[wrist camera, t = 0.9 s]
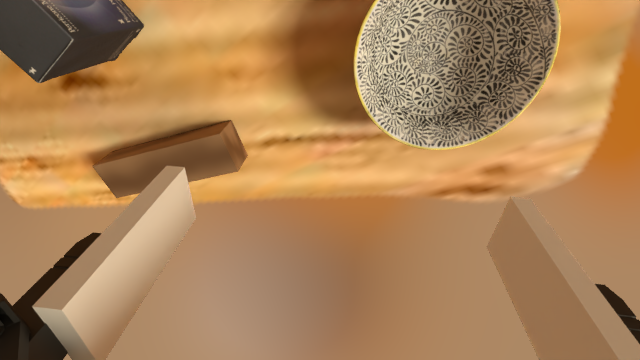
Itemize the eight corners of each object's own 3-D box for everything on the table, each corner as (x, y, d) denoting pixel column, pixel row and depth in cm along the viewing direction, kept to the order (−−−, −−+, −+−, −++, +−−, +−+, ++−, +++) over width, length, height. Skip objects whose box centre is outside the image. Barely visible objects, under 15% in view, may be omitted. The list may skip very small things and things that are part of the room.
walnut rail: (113, 151, 43) (92, 166, 40) (231, 120, 39) (219, 133, 36) (134, 181, 46) (116, 198, 42) (247, 155, 41) (238, 171, 38)
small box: (149, 24, 34) (76, 40, 25) (115, 61, 36) (39, 88, 28) (58, -77, 30) (-66, -99, 21) (28, -27, 32) (-95, -28, 24)
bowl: (537, -65, 27) (591, -77, 21) (504, 114, 35) (536, 144, 29) (348, -35, 29) (345, -38, 23) (359, 126, 38) (359, 156, 31)
